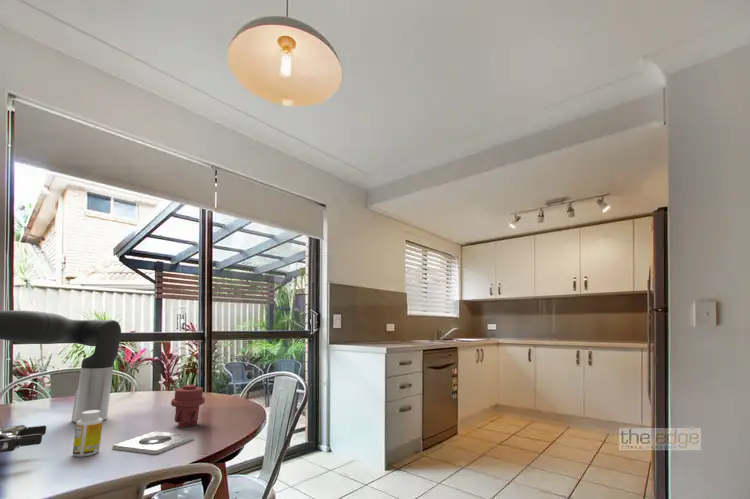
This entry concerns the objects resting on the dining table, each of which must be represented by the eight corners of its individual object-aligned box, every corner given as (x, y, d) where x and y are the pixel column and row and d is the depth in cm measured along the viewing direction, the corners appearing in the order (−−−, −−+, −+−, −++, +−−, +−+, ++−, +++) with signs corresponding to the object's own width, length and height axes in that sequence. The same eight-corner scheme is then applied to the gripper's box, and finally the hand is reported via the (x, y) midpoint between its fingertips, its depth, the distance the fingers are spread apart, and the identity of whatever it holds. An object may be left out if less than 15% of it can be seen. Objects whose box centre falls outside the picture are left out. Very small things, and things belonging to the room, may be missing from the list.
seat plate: (112, 449, 105) (112, 444, 106) (154, 434, 119) (154, 431, 119) (155, 454, 102) (156, 450, 102) (193, 439, 115) (194, 435, 115)
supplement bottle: (102, 450, 105) (108, 408, 106) (92, 457, 99) (97, 413, 101) (79, 450, 104) (84, 409, 105) (67, 458, 98) (73, 414, 100)
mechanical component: (208, 422, 134) (189, 430, 124) (182, 420, 136) (161, 428, 126) (212, 384, 136) (193, 388, 126) (186, 382, 138) (165, 387, 128)
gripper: (-57, 435, 83) (43, 424, 92) (-38, 420, 95) (49, 412, 104) (-64, 473, 82) (38, 459, 91) (-44, 454, 94) (44, 442, 103)
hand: (43, 434), depth 98 cm, fingers open, 8 cm apart
